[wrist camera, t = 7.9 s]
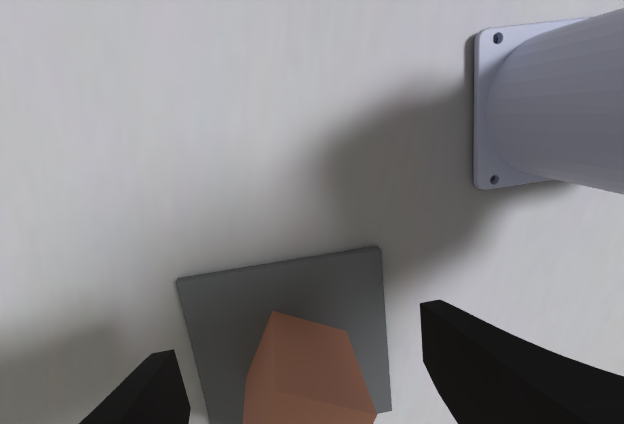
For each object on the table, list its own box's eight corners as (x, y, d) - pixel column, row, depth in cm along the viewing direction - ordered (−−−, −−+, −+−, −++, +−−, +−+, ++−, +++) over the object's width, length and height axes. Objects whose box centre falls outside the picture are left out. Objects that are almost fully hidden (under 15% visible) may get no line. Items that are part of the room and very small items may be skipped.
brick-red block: (346, 331, 21) (377, 414, 15) (317, 393, 21) (336, 496, 16) (272, 310, 20) (274, 391, 14) (246, 377, 20) (238, 478, 15)
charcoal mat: (378, 246, 20) (380, 249, 19) (389, 404, 23) (391, 410, 22) (178, 278, 19) (176, 282, 18) (217, 438, 22) (216, 445, 21)
